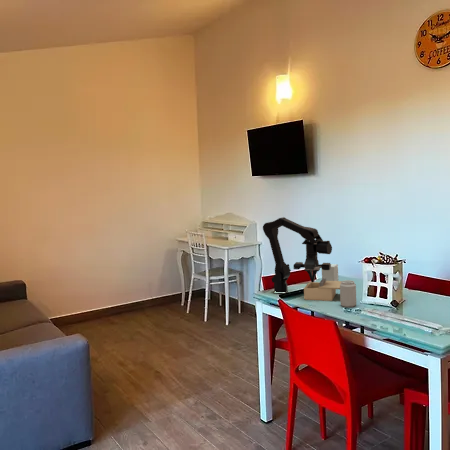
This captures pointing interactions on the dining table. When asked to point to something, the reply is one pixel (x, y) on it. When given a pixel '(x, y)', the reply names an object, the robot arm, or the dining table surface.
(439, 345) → the dining table surface
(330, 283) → the lid
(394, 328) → the dining table surface
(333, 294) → the mailer box
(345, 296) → the can
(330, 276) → the supplement box
